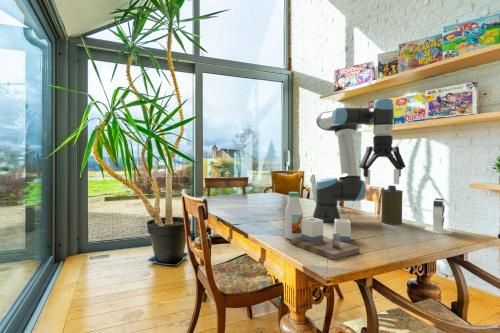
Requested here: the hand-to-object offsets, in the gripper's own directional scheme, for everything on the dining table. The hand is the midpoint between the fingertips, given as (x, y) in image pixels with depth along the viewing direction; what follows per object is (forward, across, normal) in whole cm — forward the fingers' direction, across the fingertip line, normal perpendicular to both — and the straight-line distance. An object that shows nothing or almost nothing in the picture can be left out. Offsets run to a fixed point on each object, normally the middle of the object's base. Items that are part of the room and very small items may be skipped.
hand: (382, 184), depth 123 cm
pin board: (+23, -31, -10) cm, 40 cm away
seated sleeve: (+21, -33, -5) cm, 40 cm away
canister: (+24, +23, +26) cm, 42 cm away
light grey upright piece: (+24, +34, +7) cm, 42 cm away
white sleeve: (+23, -18, 0) cm, 29 cm away
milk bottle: (+24, -38, +5) cm, 45 cm away
